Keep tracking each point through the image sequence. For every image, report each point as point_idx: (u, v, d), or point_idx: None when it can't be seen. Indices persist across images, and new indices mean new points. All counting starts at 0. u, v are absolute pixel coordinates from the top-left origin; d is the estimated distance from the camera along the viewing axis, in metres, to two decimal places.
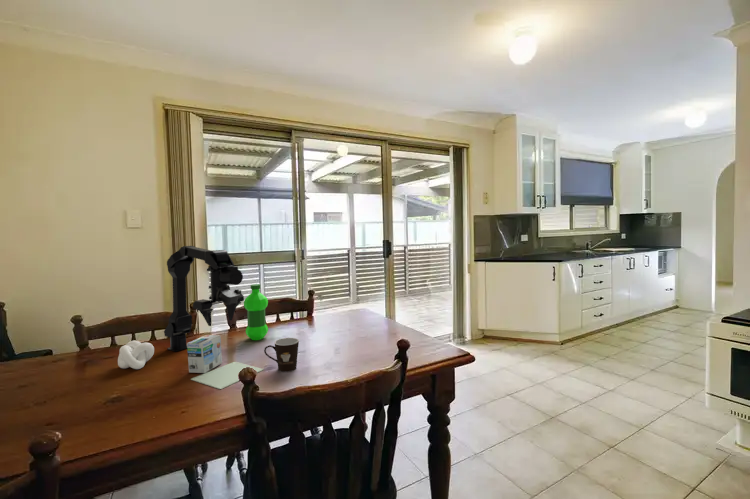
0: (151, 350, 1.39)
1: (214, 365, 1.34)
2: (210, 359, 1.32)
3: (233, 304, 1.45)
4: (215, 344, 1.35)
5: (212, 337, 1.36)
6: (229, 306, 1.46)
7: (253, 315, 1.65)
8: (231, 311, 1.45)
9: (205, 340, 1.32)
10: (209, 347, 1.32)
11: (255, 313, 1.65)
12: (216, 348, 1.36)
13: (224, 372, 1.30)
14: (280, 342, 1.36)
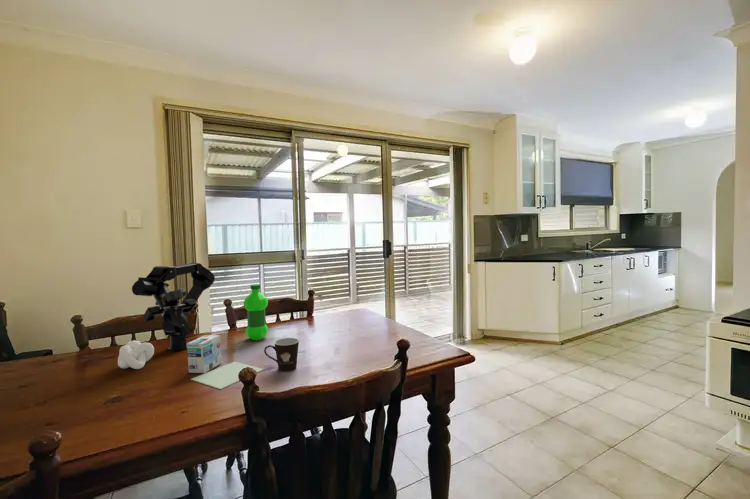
0: (151, 350, 1.39)
1: (214, 365, 1.34)
2: (210, 359, 1.32)
3: (176, 310, 1.43)
4: (215, 344, 1.35)
5: (212, 337, 1.36)
6: None
7: (253, 315, 1.65)
8: (177, 318, 1.42)
9: (205, 340, 1.32)
10: (209, 347, 1.32)
11: (255, 313, 1.65)
12: (216, 348, 1.36)
13: (224, 372, 1.30)
14: (280, 342, 1.36)
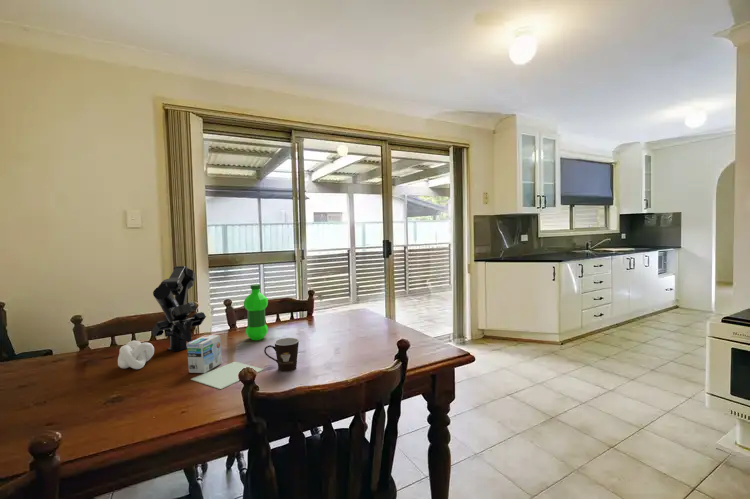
0: (151, 350, 1.39)
1: (214, 365, 1.34)
2: (210, 359, 1.32)
3: (185, 325, 1.40)
4: (215, 344, 1.35)
5: (212, 337, 1.36)
6: None
7: (253, 315, 1.65)
8: (187, 332, 1.39)
9: (205, 340, 1.32)
10: (209, 347, 1.32)
11: (255, 313, 1.65)
12: (216, 348, 1.36)
13: (224, 372, 1.30)
14: (280, 342, 1.36)
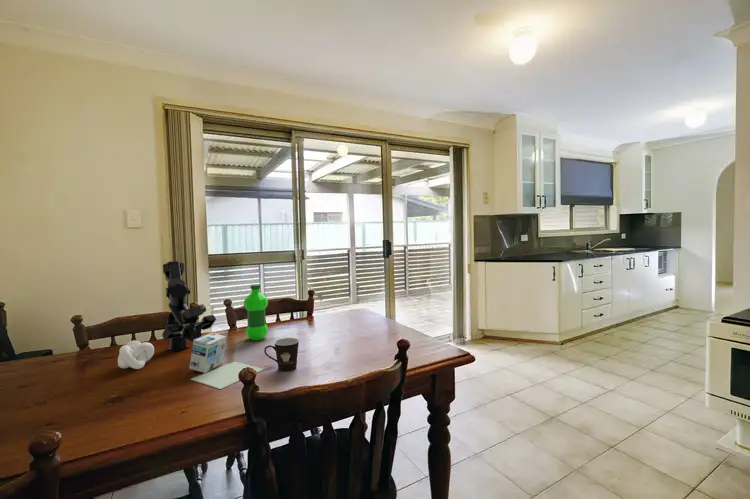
0: (151, 350, 1.39)
1: (215, 365, 1.34)
2: (212, 359, 1.32)
3: (196, 328, 1.37)
4: (220, 345, 1.35)
5: (218, 337, 1.36)
6: None
7: (253, 315, 1.65)
8: (197, 335, 1.36)
9: (212, 340, 1.32)
10: (214, 348, 1.32)
11: (255, 313, 1.65)
12: (220, 349, 1.36)
13: (224, 372, 1.30)
14: (280, 342, 1.36)
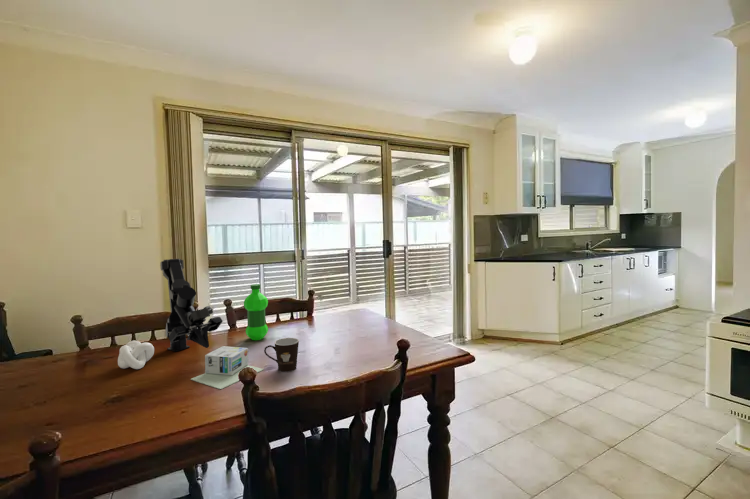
0: (151, 350, 1.39)
1: None
2: None
3: (202, 330, 1.35)
4: None
5: (243, 364, 1.34)
6: None
7: (253, 315, 1.65)
8: (204, 338, 1.35)
9: (238, 367, 1.30)
10: None
11: (255, 313, 1.65)
12: None
13: None
14: (280, 342, 1.36)
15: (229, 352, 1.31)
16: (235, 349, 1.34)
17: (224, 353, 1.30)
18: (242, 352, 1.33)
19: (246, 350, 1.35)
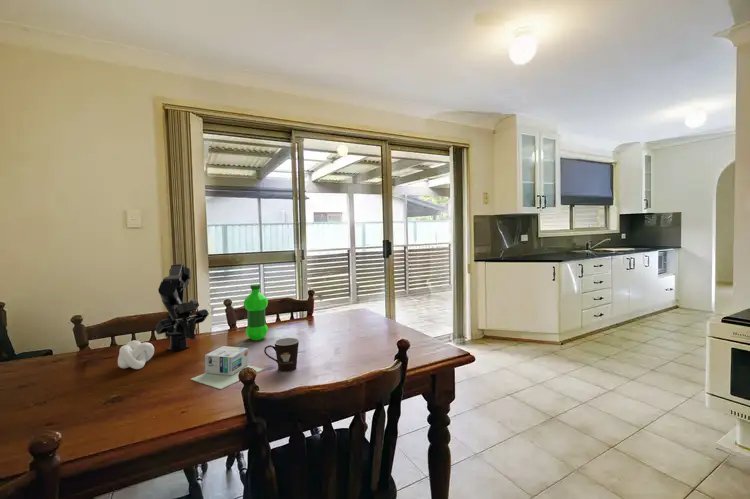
0: (151, 350, 1.39)
1: None
2: None
3: (188, 322, 1.40)
4: None
5: (243, 364, 1.34)
6: (187, 328, 1.41)
7: (253, 315, 1.65)
8: (190, 330, 1.39)
9: (238, 367, 1.30)
10: None
11: (255, 313, 1.65)
12: None
13: None
14: (280, 342, 1.36)
15: (229, 352, 1.31)
16: (235, 349, 1.34)
17: (224, 353, 1.30)
18: (242, 352, 1.33)
19: (246, 350, 1.35)
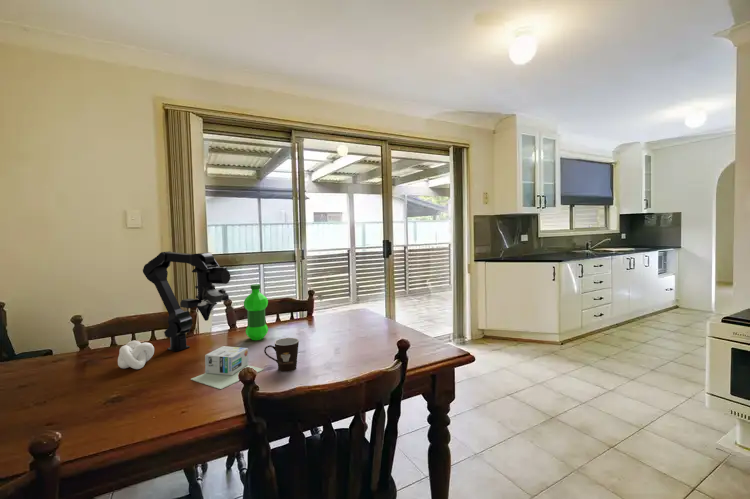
0: (151, 350, 1.39)
1: None
2: None
3: (209, 305, 1.52)
4: None
5: (243, 364, 1.34)
6: None
7: (253, 315, 1.65)
8: (207, 311, 1.52)
9: (238, 367, 1.30)
10: None
11: (255, 313, 1.65)
12: None
13: None
14: (280, 342, 1.36)
15: (229, 352, 1.31)
16: (235, 349, 1.34)
17: (224, 353, 1.30)
18: (242, 352, 1.33)
19: (246, 350, 1.35)
